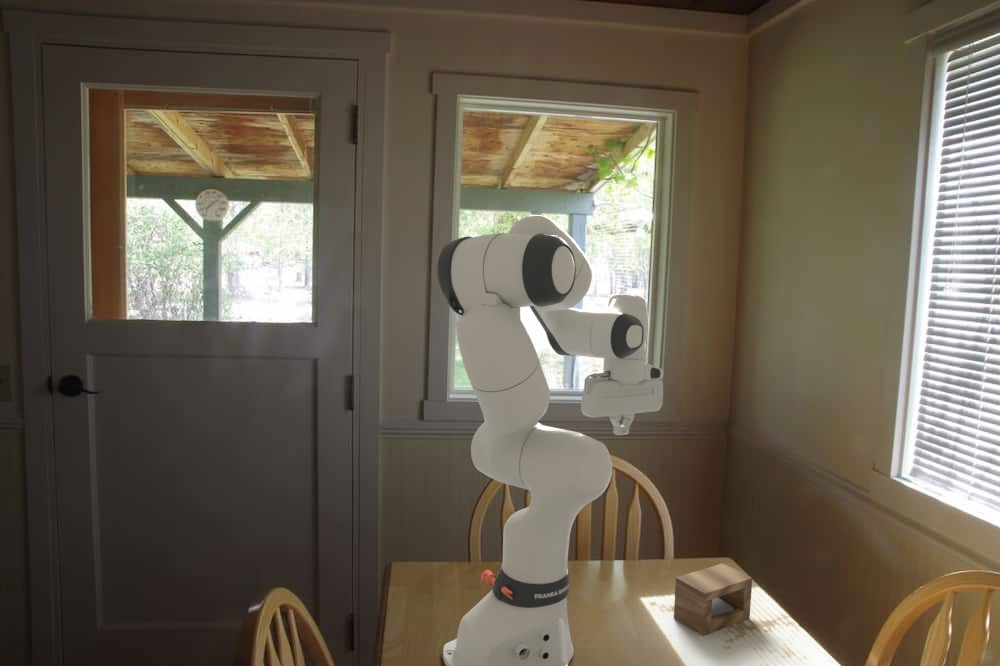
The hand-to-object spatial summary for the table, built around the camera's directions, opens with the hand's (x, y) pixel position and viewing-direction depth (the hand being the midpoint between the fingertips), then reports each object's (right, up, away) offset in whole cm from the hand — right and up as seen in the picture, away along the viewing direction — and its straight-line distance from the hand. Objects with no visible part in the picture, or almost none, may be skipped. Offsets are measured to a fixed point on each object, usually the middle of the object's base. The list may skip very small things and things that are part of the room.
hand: (621, 434), depth 138 cm
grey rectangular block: (+14, -33, -13) cm, 38 cm away
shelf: (+14, -33, -15) cm, 39 cm away
